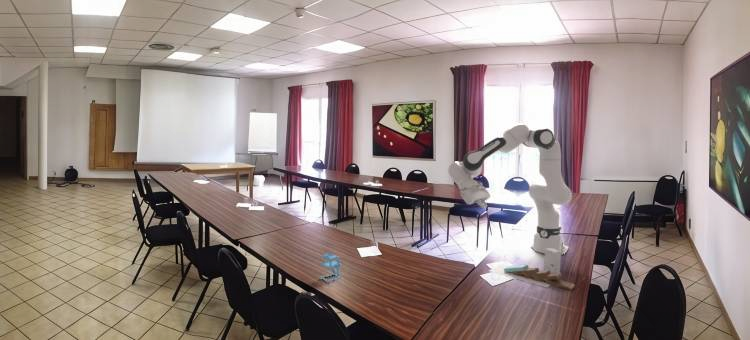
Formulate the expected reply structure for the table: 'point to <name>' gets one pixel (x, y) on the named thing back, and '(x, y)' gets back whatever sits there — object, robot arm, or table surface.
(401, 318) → the table surface
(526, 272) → the domino
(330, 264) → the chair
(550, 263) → the skincare box
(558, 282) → the domino
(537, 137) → the robot arm
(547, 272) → the domino
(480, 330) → the table surface
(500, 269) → the row mat
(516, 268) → the domino
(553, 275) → the domino
